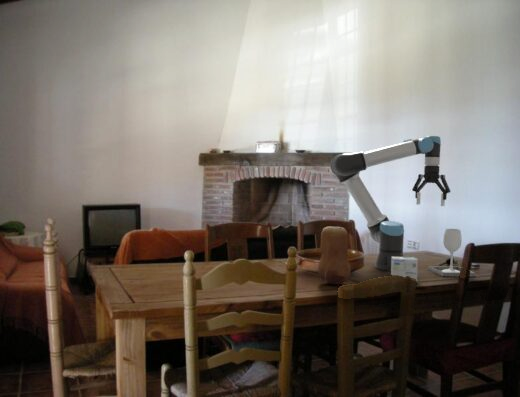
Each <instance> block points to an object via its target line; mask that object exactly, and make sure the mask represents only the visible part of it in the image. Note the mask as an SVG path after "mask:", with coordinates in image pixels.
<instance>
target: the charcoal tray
mask: <svg viewBox="0 0 520 397" xmlns="http://www.w3.org/2000/svg"><path fill="white" fill-rule="evenodd" d="M449 268H450V265H448V266H443V265H442V266H441V265H440V266H437V265H435V266H434V265H432V266H428V267H427V270H428V271H430V272H432V273H433V274H435V275H438V276H440V275H441V277H442V276H445V277H446V276H449V278H451V277H452V278H453V277H454V276H455V278H457V277H459V273H460V272H442V270H445V269H449ZM460 268H461V266H457V265H456V266H455V265H453V269H454V270H458V271H460ZM469 271H470V277H469V278H471V277H472V278H474V277H476V272H474V271H472V270H469ZM450 276H451V277H450ZM445 277H444V278H445ZM446 278H447V277H446Z"/></svg>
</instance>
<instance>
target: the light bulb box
mask: <svg viewBox="0 0 520 397" xmlns="http://www.w3.org/2000/svg"><path fill="white" fill-rule="evenodd" d="M418 261H419V260H418V258H416V257H415V256H412V257H411V256H404V257H391V271H390V276H391V275H399V276H403V277H406V276H410V277H411V278H414V279H416V281H417V282H418V263H419V262H418Z"/></svg>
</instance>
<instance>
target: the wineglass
mask: <svg viewBox="0 0 520 397" xmlns="http://www.w3.org/2000/svg"><path fill="white" fill-rule="evenodd" d="M443 246H444V248H445V249H446V250H447V251H448V253H450V264H449V266H450V268H449V269H445V270H442V272H460V271H458V270H454V269H453V266H454V262H453V261H454V259H453V256H454V254H455V252H457V251H458V250H459V249H460V248H461V246H462V233H461V229H458V228H446V229H445V230H444V234H443Z"/></svg>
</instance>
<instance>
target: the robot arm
mask: <svg viewBox="0 0 520 397" xmlns="http://www.w3.org/2000/svg"><path fill="white" fill-rule="evenodd" d="M441 145H442V144H441V136H438V135H427V136H423V137H420V138H415V139H414V138H409V139H404V140H403V142H401V143H397V144H393V145H388V146H385V147H380V148H377V149H373V150H369V151H365V152H364V151H356V152H346V153H345V152H344V153H338V154H336V155H335V156H334V157H332V159H331V160H330V170H331V172H332V174H334V176H336V177H337V180H338V181H339V182H340V184H342V185H343V184H344V186H345V187H346V189H347V190H348V192H349V194H350V195H351V197H352V198H353V200H354V202H355V203H356V205H357V207H358V208H359V210H360V212H361V213H362V215H363V217H364V218H365V220H366V222H367V224H366V227H367V229H368V231H369V233H370V234H369V235H370V236H371V238H372V239H373V241H375V242H377V243H378V244H379V249H378V255H377V258H376V259H375V263H374V264H375V265H374V267H375V269H378V270H382V271H390V272H391V257H405V256H404V238H405V236H404V234H405V229H404V228H405V227H404V224H403V223H401V222H399V221H395V220H394V221H393V220H390V219H389V218H388V216H387V215H386V214H383V213H382V212H381V210H380V208H379V206H378V205H377V203H376V202H375V200H374V198H373V197H372V196H371V193H370V192H369V189H367V187H366V185H365V184H364V182H363V180H362V178H361V177H360V173H361V172H363V171H367V169H368V168H370V167H374V166H378V165H381V164H387V163H390V162H393V161H397V160H400V159H401V160H402V159H405V158H409V157H413V156H416V155H420V154H421V155H424V166H423V167H424V170H423V171H424V172H423V174H418V177H417V180H416V181H415V183H414V185H413V186H412V192H415V193H414V195H415V199H416V205H421V197H422V196H421V194H422V192H421V190H422V189H423V188H424V187H425V185H427V184H431V183H432V184H436V186H437V188H439V190H440V191H441V194H440V195H441V196H440V207H445V205H446V204H445V202H446V200H447V194H450V193H451V189H450V187H449V184H448V182H447V180H446V174H440V163H441V162H440V161H441ZM423 179H424V180H423ZM439 179H440V180H441V181H440V180H439ZM421 182H422V183H421Z"/></svg>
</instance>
